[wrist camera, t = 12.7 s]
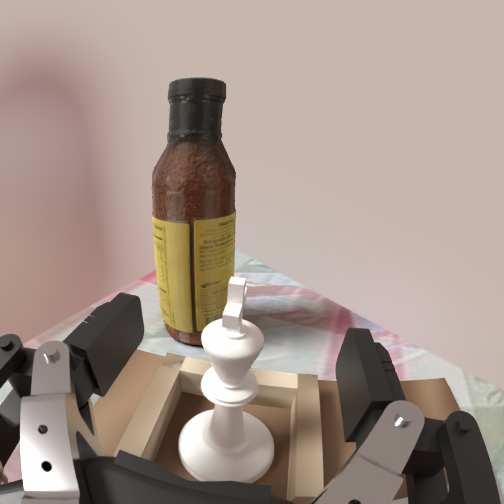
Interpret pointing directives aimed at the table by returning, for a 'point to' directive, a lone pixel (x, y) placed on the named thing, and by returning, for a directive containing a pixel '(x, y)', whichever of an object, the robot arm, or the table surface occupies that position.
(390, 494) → the robot arm
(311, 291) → the table surface
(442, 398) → the socket board
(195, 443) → the chess piece
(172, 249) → the sauce bottle
